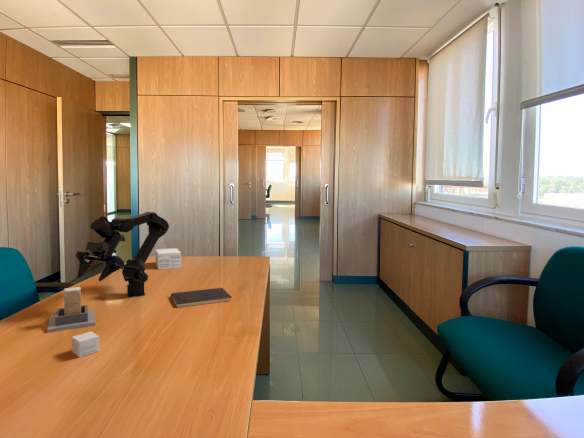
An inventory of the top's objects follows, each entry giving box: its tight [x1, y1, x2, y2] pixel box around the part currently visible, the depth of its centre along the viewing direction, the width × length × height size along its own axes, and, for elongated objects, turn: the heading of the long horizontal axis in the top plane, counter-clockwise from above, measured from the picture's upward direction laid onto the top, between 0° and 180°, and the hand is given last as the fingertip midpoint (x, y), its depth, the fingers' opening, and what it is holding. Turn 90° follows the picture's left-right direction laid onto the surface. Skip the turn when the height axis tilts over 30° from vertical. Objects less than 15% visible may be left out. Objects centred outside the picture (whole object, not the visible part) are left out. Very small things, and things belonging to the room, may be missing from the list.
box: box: [63, 286, 82, 316], centre depth 129 cm, size 5×4×11 cm
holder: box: [46, 304, 96, 334], centre depth 129 cm, size 14×14×4 cm
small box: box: [71, 331, 100, 358], centre depth 107 cm, size 6×6×5 cm
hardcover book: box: [170, 287, 232, 308], centre depth 158 cm, size 16×23×2 cm
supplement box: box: [154, 247, 182, 270], centre depth 219 cm, size 17×13×9 cm
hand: (88, 279), depth 136 cm, fingers open, 9 cm apart
